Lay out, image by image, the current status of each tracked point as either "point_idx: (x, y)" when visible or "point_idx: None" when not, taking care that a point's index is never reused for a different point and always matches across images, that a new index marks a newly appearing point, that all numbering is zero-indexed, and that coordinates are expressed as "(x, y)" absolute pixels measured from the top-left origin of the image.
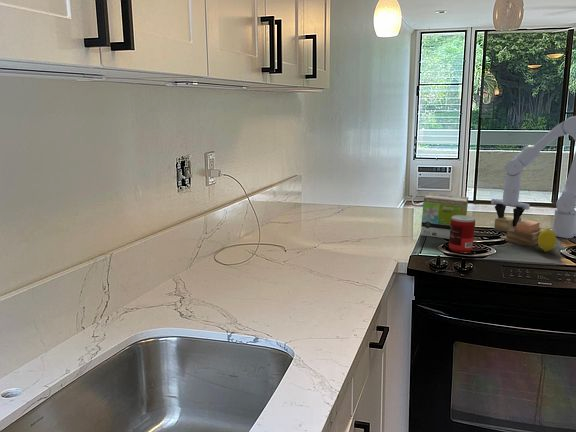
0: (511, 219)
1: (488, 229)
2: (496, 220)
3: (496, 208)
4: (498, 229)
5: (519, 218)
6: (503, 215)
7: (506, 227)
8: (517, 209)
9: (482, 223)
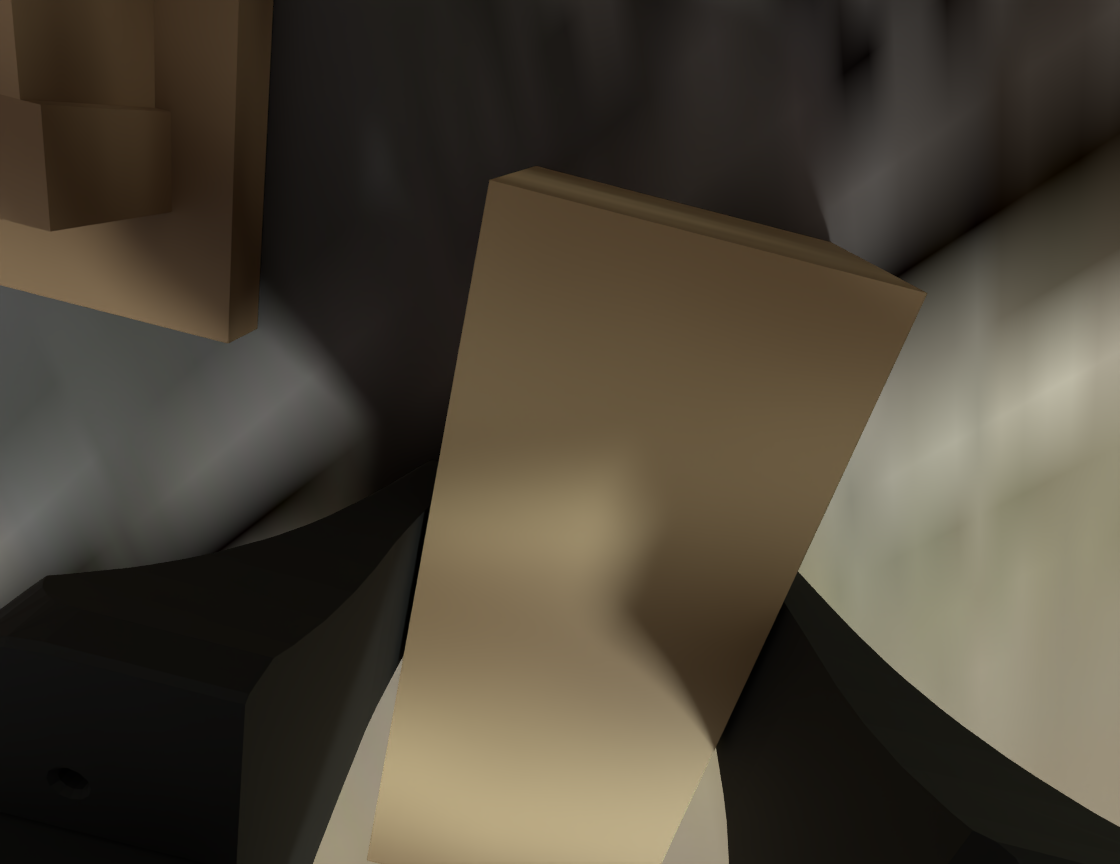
0: (474, 543)
1: (966, 109)
2: (866, 275)
3: (1090, 832)
4: (730, 218)
5: (383, 783)
6: (731, 771)
7: (535, 172)
8: (16, 654)
9: (1098, 618)
